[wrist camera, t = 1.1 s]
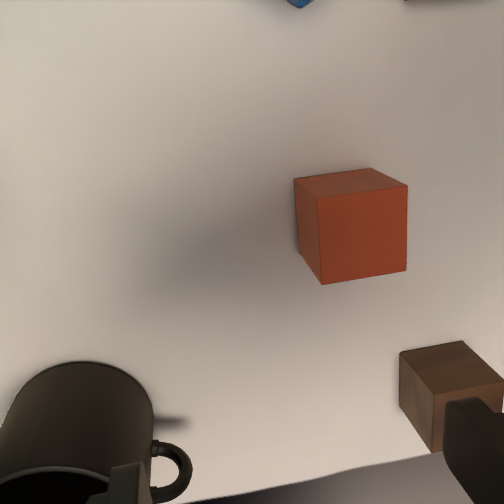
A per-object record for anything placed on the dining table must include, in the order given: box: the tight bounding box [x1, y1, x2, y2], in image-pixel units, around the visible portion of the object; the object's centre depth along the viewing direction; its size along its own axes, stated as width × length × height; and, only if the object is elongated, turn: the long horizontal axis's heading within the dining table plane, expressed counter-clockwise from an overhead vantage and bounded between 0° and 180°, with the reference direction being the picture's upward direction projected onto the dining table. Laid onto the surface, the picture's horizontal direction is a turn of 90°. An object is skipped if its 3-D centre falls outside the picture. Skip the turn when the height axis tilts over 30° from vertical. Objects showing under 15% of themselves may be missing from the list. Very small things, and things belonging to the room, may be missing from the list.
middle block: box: [294, 168, 408, 285], centre depth 28 cm, size 5×5×5 cm
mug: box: [0, 363, 193, 504], centre depth 29 cm, size 9×12×9 cm
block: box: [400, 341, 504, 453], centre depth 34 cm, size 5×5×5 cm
